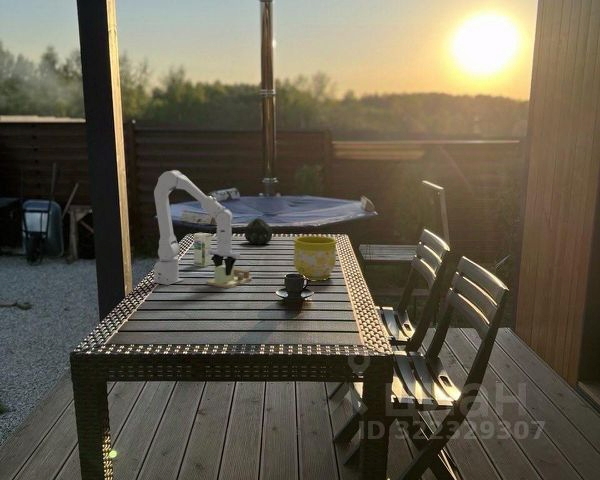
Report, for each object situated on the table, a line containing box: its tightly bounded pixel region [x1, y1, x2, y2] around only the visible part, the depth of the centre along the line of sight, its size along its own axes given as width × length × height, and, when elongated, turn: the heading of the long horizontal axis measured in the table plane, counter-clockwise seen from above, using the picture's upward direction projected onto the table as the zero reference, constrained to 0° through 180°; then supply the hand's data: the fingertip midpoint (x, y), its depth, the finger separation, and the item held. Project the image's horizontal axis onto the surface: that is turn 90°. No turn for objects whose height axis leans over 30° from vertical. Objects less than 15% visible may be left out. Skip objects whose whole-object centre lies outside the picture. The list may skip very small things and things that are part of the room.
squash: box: [244, 218, 273, 246], centre depth 319 cm, size 14×15×15 cm
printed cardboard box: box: [193, 232, 212, 268], centre depth 264 cm, size 6×6×14 cm
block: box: [213, 264, 235, 284], centre depth 233 cm, size 8×4×6 cm, turn 149°
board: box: [205, 268, 253, 289], centre depth 236 cm, size 16×11×4 cm
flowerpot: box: [293, 235, 338, 280], centre depth 246 cm, size 18×18×16 cm
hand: (223, 274), depth 233 cm, fingers open, 4 cm apart
